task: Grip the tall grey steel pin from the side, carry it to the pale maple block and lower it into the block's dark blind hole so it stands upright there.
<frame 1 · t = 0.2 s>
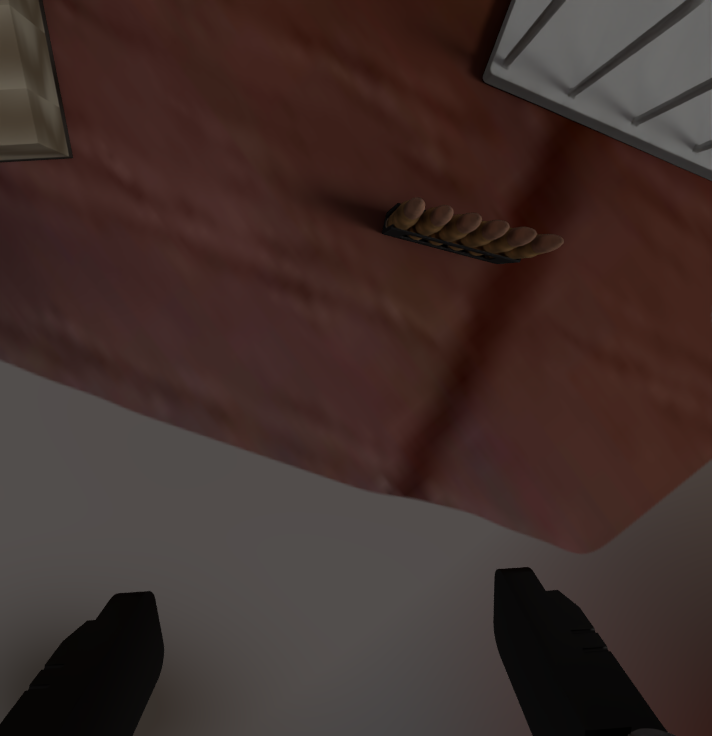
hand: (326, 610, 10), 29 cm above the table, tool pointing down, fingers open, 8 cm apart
ammunition clip: (443, 238, 37), on the table
file sorter: (663, 30, 34), on the table
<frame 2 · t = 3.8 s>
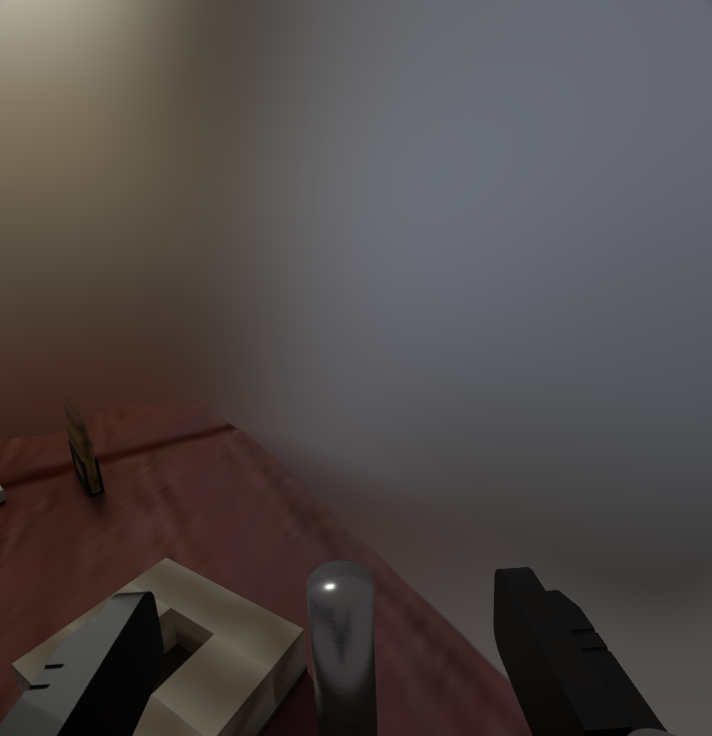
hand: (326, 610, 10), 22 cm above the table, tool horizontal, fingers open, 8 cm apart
socket block: (170, 689, 31), on the table
ammunition clip: (89, 482, 62), on the table
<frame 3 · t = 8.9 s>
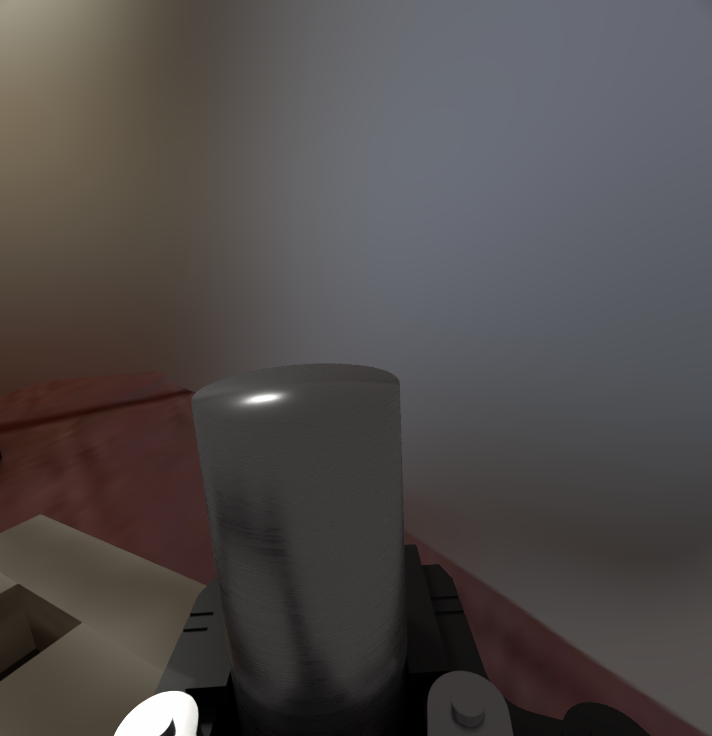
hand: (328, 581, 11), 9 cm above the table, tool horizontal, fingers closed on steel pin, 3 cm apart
when the fingers open (10 cm above the table, at t = 13.8 s): steel pin stays where it is, resting on socket block.
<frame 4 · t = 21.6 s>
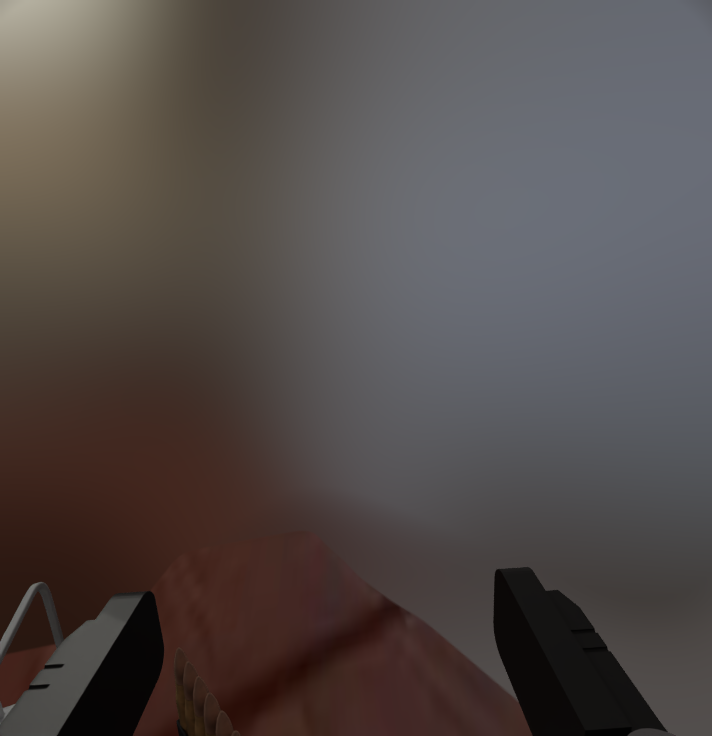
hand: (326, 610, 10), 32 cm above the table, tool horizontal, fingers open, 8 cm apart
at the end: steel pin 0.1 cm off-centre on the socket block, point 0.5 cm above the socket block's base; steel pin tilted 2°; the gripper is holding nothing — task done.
